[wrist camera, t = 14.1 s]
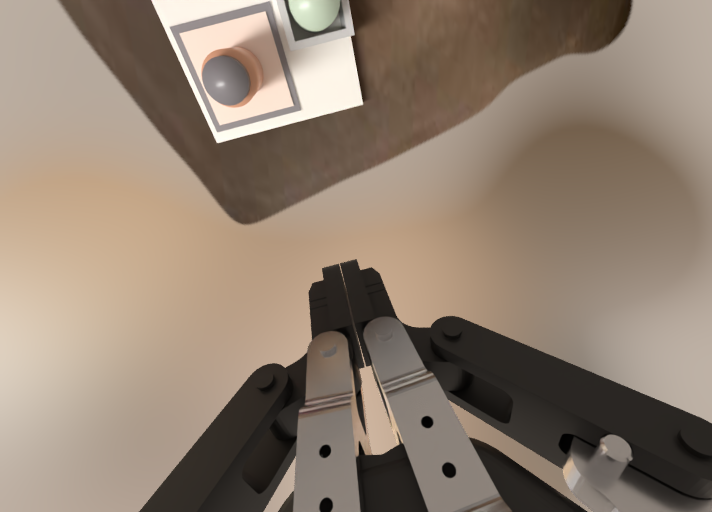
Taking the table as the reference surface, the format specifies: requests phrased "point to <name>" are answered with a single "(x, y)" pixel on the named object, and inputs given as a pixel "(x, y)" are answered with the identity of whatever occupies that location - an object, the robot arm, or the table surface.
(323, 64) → the white tray with bin
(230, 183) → the table surface
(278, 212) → the table surface
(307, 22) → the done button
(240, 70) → the orange and grey cylinder
